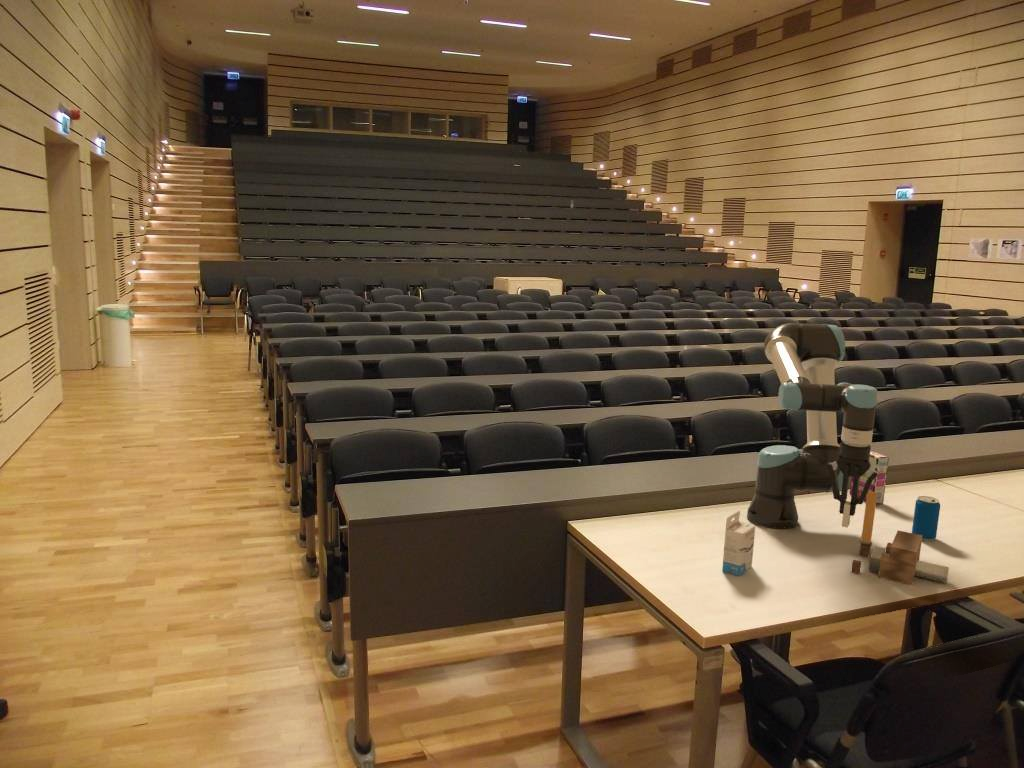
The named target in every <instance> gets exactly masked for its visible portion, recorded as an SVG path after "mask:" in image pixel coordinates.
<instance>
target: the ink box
mask: <svg viewBox="0 0 1024 768" xmlns="http://www.w3.org/2000/svg"><path fill="white" fill-rule="evenodd" d="M740 514H741V511H740V510H738V511H736V512H734V513H733V514H731V515H729V516H728V517H727V518H726V522H725V532H724V533H725V534H724V543H723V544H724V546H723V554H722V555H723V557H722V567H721V568H722V569H721V570H722V572H723V573H726V574H727V573H728V574H731V575H734V576H737V577H740V576H741V575H742V574H744V573H745V572H747V571H748V570H749V569H750V568H752V567H753V556H754V543H755V535H756V534H755V533H756V524H752V523H748V522H744V521H740V516H741V515H740ZM733 518H734V519H733Z"/></svg>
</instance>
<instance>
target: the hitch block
mask: <svg viewBox="0 0 1024 768" xmlns="http://www.w3.org/2000/svg"><path fill="white" fill-rule="evenodd" d="M922 541H923V540H922V535H918V534H913V533H912V532H909V531H908V532H907V531H902V530H897V531H896V534H895V535H894V539H893V541H892V542H887V544H886V547H885V553H886V554H890V556H888V555H884V554H883V555H882V557H881V560H880V568H879V573H878V576H877V577H878V578H879V579H883V580H888V581H892V582H896V583H901V584H906V585H909V586H913V584H914V582H915V569H916V562H917V560H918V561H920V556H921V549H922ZM871 547H872V546H870V545H866V544H861V543H860V544H859V551H858V552H859V553H858V556H860V555H861V556H860V557H865V558H870V556H871ZM861 568H862V561H861V560H857V559H853V560H852V562H851V569H850V570H851V571H850V573H854V574H858V575H860V573H861V570H862V569H861Z"/></svg>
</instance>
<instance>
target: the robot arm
mask: <svg viewBox="0 0 1024 768" xmlns="http://www.w3.org/2000/svg"><path fill="white" fill-rule="evenodd" d="M763 352H764V354H765V357H766V358H767V360H768V361H769V362H771V363H772V365H773V367H774V370H775V371H776V375H777V377H778V379H779V381H780V386H779V388H778V397H777V398H778V405H779V407H780V408H781V409H784V410H791V411H806V436H807V437H806V438H807V439H806V441H807V442H806V444H804V446H803V447H802V452H800V450H799V448H798V447H796V446H792V445H785V444H783V445H782V444H781V445H780V444H777V445H771V446H766V447H765V448H761V450H760V451H759V452H758V456H757V463H756V466H757V467H756V477H755V489H754V495H753V497H752V500H751V502H750V504H749V506H748V508H747V511H746V512H747V513H746V518H747V520H749V521H750V522H751V524H752V523H753V524H754V525H757V526H761V527H765V528H769V529H779V530H784V529H785V530H786V529H792V528H795V527H797V526H798V524H799V514H798V510H797V506H796V501H795V493H796V491H806V492H821V493H826V494H827V493H832V494H833V499H834V500H836V501H838V502H839V510H838V512H839V514H842V521H841V527H843V528H848V527H849V526H850V522H851V517H854V516H855V514H856V510H857V509H856V507H857V505H863V504H864V502H865V501H864V500H865V497H866V495H867V493H868V490H869V488H870V486H871V483H872V481H873V480H874V479H875V478H876V477H877V475H878V474H879V472H878V471H875V470H874V469H872V468H871V464H870V462H869V458H870V451H872V450H871V448H872V447H871V444H872V443H873V433H874V426H875V419H876V410H877V405H878V402H879V401H878V390H877V388H875V387H874V386H870V385H867V384H852V383H849V382H839V383H837V384H836V382H835V380H836V379H835V369H836V368H838V367H839V365H840V361H843V359H844V357H845V355H846V339H845V335H844V332H843V331H842V329H841V328H840V327H839V326H837V325H835V324H828V323H803V322H802V323H801V322H800V323H798V322H797V323H796V322H789V323H783V324H781V325H778V326H777V327H775V328H773V330H771V331H770V332H769V334H768V335H767V336H766V337H765V340H764V344H763ZM837 413H843V421H842V428H841V429H842V430H841V436H840V439H841V442H839V443H840V444H839V443H838V430H837ZM866 471H868V476H869V478H868V479H867V482H866V484H865V486H864V489H863V491H862V493H861V496H860V498H857V496H858V488H859V480H860V477H861V476H862V475H863V474H864V473H865V472H866ZM850 477H853V487H852V495H850V501H848V500H847V499H848V490H849V486H850V485H849V483H850Z"/></svg>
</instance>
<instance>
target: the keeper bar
mask: <svg viewBox="0 0 1024 768" xmlns="http://www.w3.org/2000/svg"><path fill="white" fill-rule="evenodd" d="M876 499H877V492H871V491H868V493H867V499H866V502H865V509H864V515H863V516H864V517H863V523H862V531H861V539H859V544H860V545H861V544H866V545H870V546H871V547H872V545H873V542H872V537H873V528H874V522H875V514H876V506H877V504H876Z"/></svg>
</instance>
